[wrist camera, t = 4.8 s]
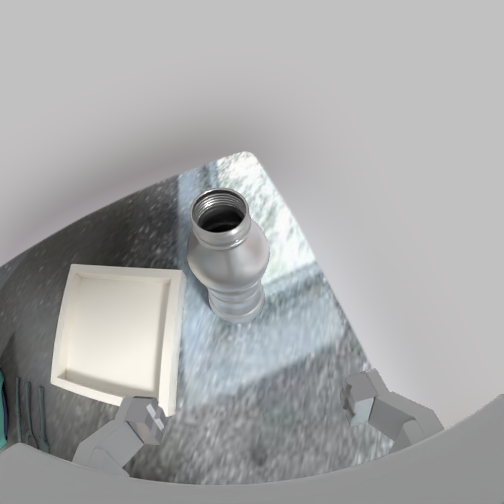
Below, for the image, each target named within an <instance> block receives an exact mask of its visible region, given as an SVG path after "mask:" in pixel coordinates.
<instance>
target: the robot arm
mask: <svg viewBox="0 0 504 504" xmlns="http://www.w3.org/2000/svg"><path fill="white" fill-rule="evenodd" d="M341 383H342V386H343V387H342V388H341V390H340V398H341V403H342V406H343V409H345V410H347V413H346V417H347V420H348V422H349V425H350V427H351V426H355V425H359V424H363V423H366V422H368V423H369V424H371V425H372V426H373V427H375V428H376V429H378V430H379V431H380V432H382V433H383V434H385V435H386V436H388V437H389V438H391V439H392V440H393V441H395V443H394V445H393V447H392V448H391V450H390V452H389V454H388V455H386V456H383V457H380V458H377V459H374V460H371V461H368V462H365V463H362V464H359V465H355V466H352V467H348V468H345V469H341V470H337V471H333V472H328V473H324V474H319V475H315V476H309V477H304V478H298V479H292V480H285V481H277V482H268V483H258V484H243V485H192V484H177V483H167V482H158V481H151V480H144V479H138V478H132V477H130V475H129V474H128V473H127V472H126V471H125V470H124V469H123V468H122V467H123V466H124V465H125V464H126V463H127V462H128V461H129V460H130V459H131V458H132V457H133V456H134V455H135V454H136V453H137V452H138V451H139V449H140V448H141V447H142V446H143V445H144V444H154V445H160V444H161V440H162V435H163V433H162V432H161V429H162V428H163V427H165V422H166V421H165V413H164V411H163V409H162V408H161V407H160V406H158V403H159V402H158V400H157V398H156V397H143V396H129V395H126V396H125V397H124V398H123V400H122V402H121V405H120V407H119V409H118V412H117V414H116V417H115V419H114V420H111V421H109V422H108V423H107V424H105V425H104V426H103V427H101V428H100V429H99V430H97V431H96V432H95V433H93V434H92V435H90V436H89V437H88V438H86V439H85V440H84V441H82V442H81V443H80V444H79V446H78V448H77V450H76V453H75V455H74V458H73V460H72V462H70V461H67V460H64V459H61V458H59V457H56V456H53V455H51V454H48V453H46V452H43V451H41V450H38V449H36V448H34V447H32V446H29V445H27V444H25V443H17V444H15V445H13V446H11V447H10V448H8V449H6V450H5V451H3V452H2V453H1V455H0V504H504V394H501V395H499V396H497V397H496V398H494V399H493V400H491V401H490V402H489V403H487V404H486V405H484V406H483V407H481V408H480V409H478V410H477V411H475V412H473V413H472V414H470V415H469V416H467V417H465V418H464V419H462V420H460V421H459V422H457V423H455V424H454V425H452V426H450V427H448V428H446V429H444V427H443V426H442V424H441V423H440V421H439V419H438V418H437V416H436V414H435V413H434V411H433V410H431V409H429V408H427V407H425V406H422V405H420V404H418V403H416V402H414V401H412V400H409V399H407V398H405V397H403V396H401V395H399V394H396V393H395V392H389V390H388V388H387V387H386V385H385V383H384V381H383V380H382V378H381V376H380V375H379V373H378V371H377V370H376V369H375V368H374V369H370V370H367V371H364V372H359V373H356V374H352V375H348V376H344V377H342V381H341Z"/></svg>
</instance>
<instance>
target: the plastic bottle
mask: <svg viewBox="0 0 504 504" xmlns="http://www.w3.org/2000/svg"><path fill="white" fill-rule="evenodd" d="M190 220H191V222H192V228H193V230H192V232H191V234H190V236H189V239H188V244H187V261H188V264H189V266H190V268H191V270H192V272H193V273H194V275H195V276H196V277H197V278H198V279H199V280H200V281H201V282H202V283H203V284H204V285H205V286H206V287H207V288H208V290H209V292H208V296H209V303H210V306H211V308H212V310H213V311H214V313H215V314H216V315H217V316H218V317H219V318H221V319H222V320H224V321H227V322H229V323H233V324H243V323H247V322H249V321H251V320H253V319H254V318H255V317H256V316H257V315H258V314H259V313H260V312H261V310H262V308H263V306H264V302H265V294H264V290H263V286H262V284H261V278H262V276H263V274H264V272H265V270H266V268H267V265H268V262H269V256H270V247H269V243H268V240H267V238H266V236H265V234H264V232H263V231H262V229H261V228H260V226H259V225H258V224H257V223H256V222H255V221H253V220H252V219H251V217H250V214H249V207H248V204H247V202H246V200H245V198H244V197H243V196H242V195H241V194H239V193H238V192H236V191H234V190H232V189H228V188H213V189H210V190H207V191H205V192H203V193H201V194H200V195H198V196H197V197H196V198H195V199H194V201H193V203H192V205H191V207H190Z"/></svg>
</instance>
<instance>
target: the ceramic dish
mask: <svg viewBox="0 0 504 504" xmlns="http://www.w3.org/2000/svg"><path fill="white" fill-rule="evenodd" d="M186 285H187V277H186V276H185V274H184V273H183V271H182V270H172V269H150V268H131V267H113V266H96V265H81V264H71V267H70V271H69V275H68V279H67V283H66V287H65V291H64V295H63V300H62V304H61V309H60V314H59V320H58V325H57V331H56V338H55V345H54V352H53V361H52V371H51V384H54V385H56V386H59V387H61V388H64V389H66V390H69V391H72V392H75V393H78V394H80V395H83V396H86V397H89V398H93V399H96V400H99V401H102V402H106V403H109V404H113V405H117V406H120V405H121V402H122V400H123V398H124V397H125V396H126V395H129V396H143V397H156V398H157V400H158V402H159V403H158V406H160V407H161V408H162V409H163V411H164V413H165V416H167V417H168V416H171V415H174V414H175V409H176V390H177V375H178V361H179V350H180V339H181V328H182V319H183V310H184V301H185V293H186Z"/></svg>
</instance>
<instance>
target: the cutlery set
mask: <svg viewBox="0 0 504 504" xmlns="http://www.w3.org/2000/svg"><path fill="white" fill-rule="evenodd" d="M19 379H20V378H18V377H16V405H15V410H16V414H15V415H16V416H17V435H18V443H22V436H21V426H20V417H21V415H20V407H19V402H18V384H19ZM3 381H4V376H3V374H2V372H1V370H0V449H1V448H2V447H3V446H4V445H5V444H6V443H7V441H6V440H5V439H6V435H7V431H8V415H7V408H6V400H5V396H4V392H3V388H2V384H3ZM29 392H30V383H28V382H25V402H26V412H27V419H28V426H29V430H28V431H27V433H26V435H25V444H27V445H28V437H29V435H32V436H33V433H32V429H31V420H30V408H29ZM43 393H44V388H42V387H38V402H39V412H40V430H41V436H40V441H39V443H40V447H41V451H43V452H46V453H48V454H50V449H49V444H48V443H47V442H46V437H45V418H44V402H43ZM33 437H34V436H33ZM34 439H35V437H34ZM35 442H36V446H37V449H38V445H37V441H36V439H35Z"/></svg>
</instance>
